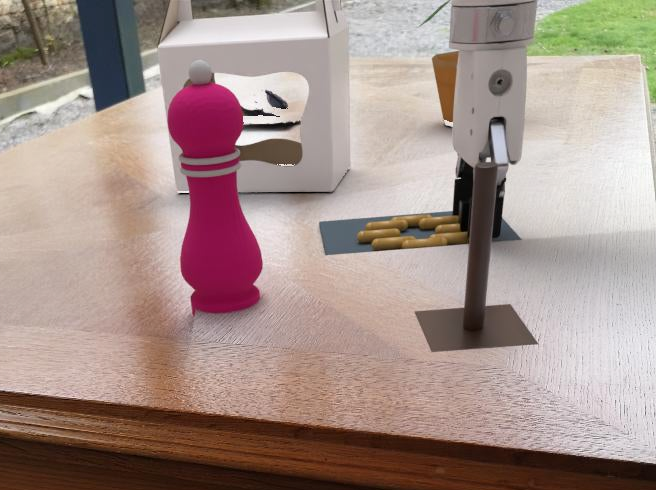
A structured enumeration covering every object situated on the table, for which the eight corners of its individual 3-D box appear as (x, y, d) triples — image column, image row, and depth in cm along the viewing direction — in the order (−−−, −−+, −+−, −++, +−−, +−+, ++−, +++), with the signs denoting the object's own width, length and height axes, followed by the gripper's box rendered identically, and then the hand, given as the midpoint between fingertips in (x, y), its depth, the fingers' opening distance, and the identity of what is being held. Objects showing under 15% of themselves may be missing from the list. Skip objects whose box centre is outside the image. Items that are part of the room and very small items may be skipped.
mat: (493, 212, 89) (493, 207, 89) (539, 264, 75) (539, 259, 75) (319, 225, 90) (319, 221, 90) (331, 280, 76) (331, 275, 75)
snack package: (270, 117, 148) (222, 127, 142) (272, 80, 144) (223, 88, 138) (313, 135, 142) (265, 146, 136) (317, 96, 138) (267, 106, 132)
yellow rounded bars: (479, 220, 86) (482, 187, 84) (501, 246, 78) (504, 212, 76) (352, 230, 86) (352, 198, 84) (361, 257, 79) (361, 223, 77)
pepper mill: (250, 291, 75) (228, 51, 63) (278, 317, 69) (259, 58, 57) (178, 306, 73) (141, 61, 61) (200, 334, 67) (164, 70, 56)
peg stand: (509, 317, 65) (528, 147, 58) (536, 358, 59) (562, 173, 51) (413, 324, 66) (419, 156, 58) (430, 366, 59) (440, 183, 51)
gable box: (352, 168, 111) (349, -78, 95) (335, 193, 101) (328, -77, 85) (205, 170, 117) (178, -62, 100) (174, 194, 106) (139, -59, 90)
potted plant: (403, 137, 125) (409, -100, 108) (423, 114, 139) (432, -99, 122) (518, 136, 120) (544, -113, 102) (527, 112, 134) (552, -111, 116)
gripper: (563, 32, 64) (535, 251, 75) (508, 16, 78) (490, 202, 89) (471, 40, 64) (456, 257, 75) (433, 22, 78) (424, 207, 89)
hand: (475, 225), depth 82 cm, fingers closed on yellow rounded bars, 6 cm apart
